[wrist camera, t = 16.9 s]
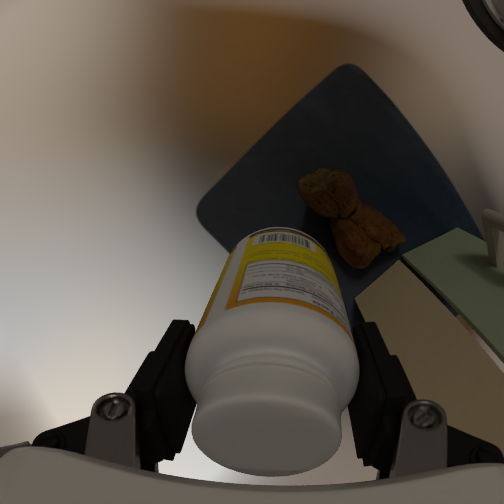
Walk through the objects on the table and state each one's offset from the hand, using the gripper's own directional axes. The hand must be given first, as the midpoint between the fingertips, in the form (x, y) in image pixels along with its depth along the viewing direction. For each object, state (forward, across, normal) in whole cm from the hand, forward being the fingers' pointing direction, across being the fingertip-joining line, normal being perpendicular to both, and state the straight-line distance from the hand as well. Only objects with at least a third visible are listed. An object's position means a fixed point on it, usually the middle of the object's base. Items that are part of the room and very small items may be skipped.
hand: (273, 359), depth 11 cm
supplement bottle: (+6, 0, -1) cm, 6 cm away
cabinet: (+29, -16, +13) cm, 36 cm away
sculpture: (+30, -9, 0) cm, 31 cm away
